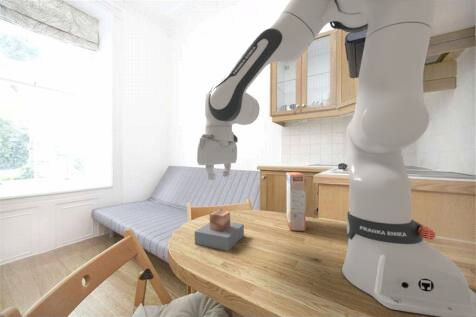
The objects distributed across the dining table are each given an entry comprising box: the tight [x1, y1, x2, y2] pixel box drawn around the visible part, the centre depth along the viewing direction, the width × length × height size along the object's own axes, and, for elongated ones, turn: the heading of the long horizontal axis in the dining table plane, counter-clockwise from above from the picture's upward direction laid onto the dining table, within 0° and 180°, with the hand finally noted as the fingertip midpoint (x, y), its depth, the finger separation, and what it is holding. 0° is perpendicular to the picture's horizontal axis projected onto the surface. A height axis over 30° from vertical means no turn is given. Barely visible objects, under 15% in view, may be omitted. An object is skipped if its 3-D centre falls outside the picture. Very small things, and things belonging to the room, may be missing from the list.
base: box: [194, 221, 245, 252], centre depth 65 cm, size 12×12×4 cm
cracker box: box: [285, 171, 307, 232], centre depth 78 cm, size 14×6×21 cm, turn 171°
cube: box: [209, 209, 231, 231], centre depth 65 cm, size 5×5×5 cm
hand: (219, 177), depth 65 cm, fingers open, 8 cm apart
